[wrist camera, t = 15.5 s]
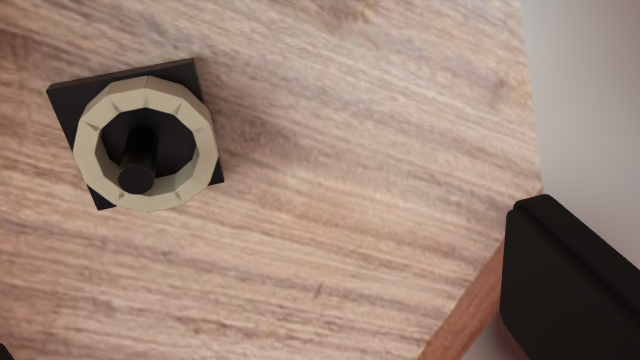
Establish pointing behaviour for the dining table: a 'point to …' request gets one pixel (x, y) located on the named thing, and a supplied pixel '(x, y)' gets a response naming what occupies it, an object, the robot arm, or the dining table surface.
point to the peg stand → (135, 128)
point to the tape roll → (159, 97)
